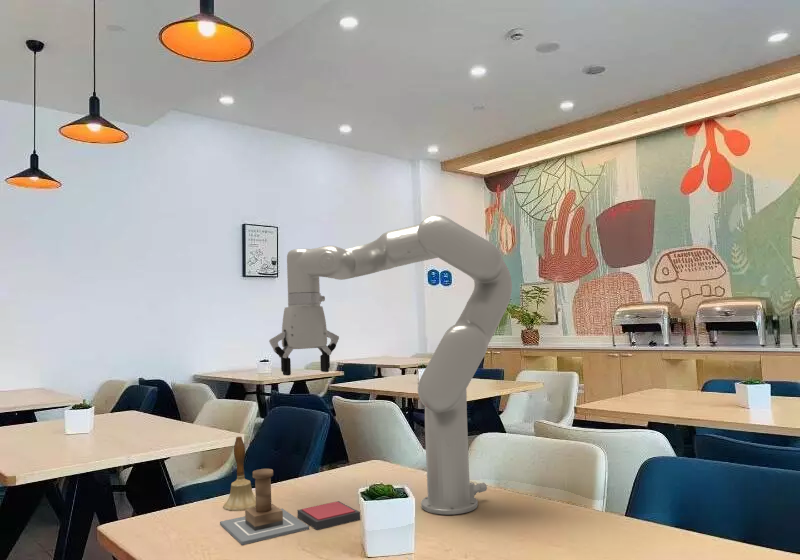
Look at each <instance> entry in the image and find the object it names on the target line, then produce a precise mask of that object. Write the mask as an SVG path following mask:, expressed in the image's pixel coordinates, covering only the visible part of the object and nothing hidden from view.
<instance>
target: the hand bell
mask: <svg viewBox="0 0 800 560" xmlns="http://www.w3.org/2000/svg"><path fill="white" fill-rule="evenodd" d="M233 445H234V446H233V456H234V460H235V462H236V479H235V480H234V481H232V482H231V484H230V492H229V496H228V498H227V500H226V501H225V502H224V504H223V506H222V508H223V509H224V510H226V511H229V512H240V511H245V509H250V508H255V507H256V495H255V494H254V492H253V489H252V483H251V480H249V479H246V478H245V477H246V476H245V469H244V467H245V466H244V462H245V458H246V447H245V443H244V441H243V437H242V436H236V437H235V441H234V444H233Z"/></svg>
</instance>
